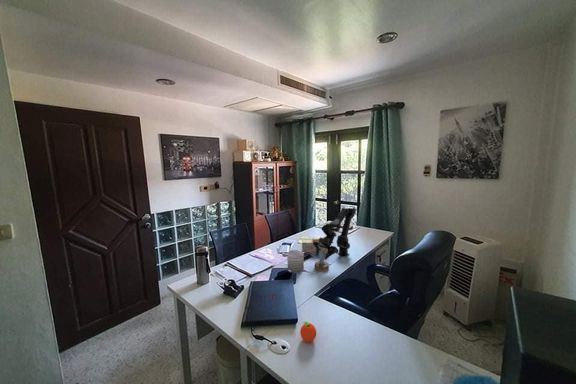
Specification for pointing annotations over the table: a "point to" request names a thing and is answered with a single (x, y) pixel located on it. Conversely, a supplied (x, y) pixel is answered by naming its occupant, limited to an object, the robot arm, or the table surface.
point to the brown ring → (321, 268)
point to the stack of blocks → (309, 247)
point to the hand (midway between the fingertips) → (320, 258)
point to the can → (295, 261)
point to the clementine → (308, 332)
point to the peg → (321, 258)
